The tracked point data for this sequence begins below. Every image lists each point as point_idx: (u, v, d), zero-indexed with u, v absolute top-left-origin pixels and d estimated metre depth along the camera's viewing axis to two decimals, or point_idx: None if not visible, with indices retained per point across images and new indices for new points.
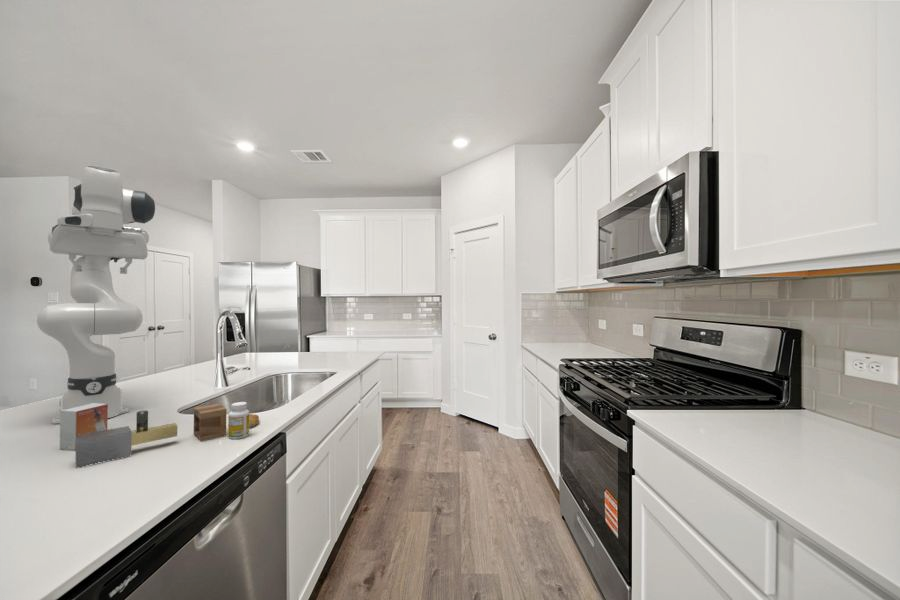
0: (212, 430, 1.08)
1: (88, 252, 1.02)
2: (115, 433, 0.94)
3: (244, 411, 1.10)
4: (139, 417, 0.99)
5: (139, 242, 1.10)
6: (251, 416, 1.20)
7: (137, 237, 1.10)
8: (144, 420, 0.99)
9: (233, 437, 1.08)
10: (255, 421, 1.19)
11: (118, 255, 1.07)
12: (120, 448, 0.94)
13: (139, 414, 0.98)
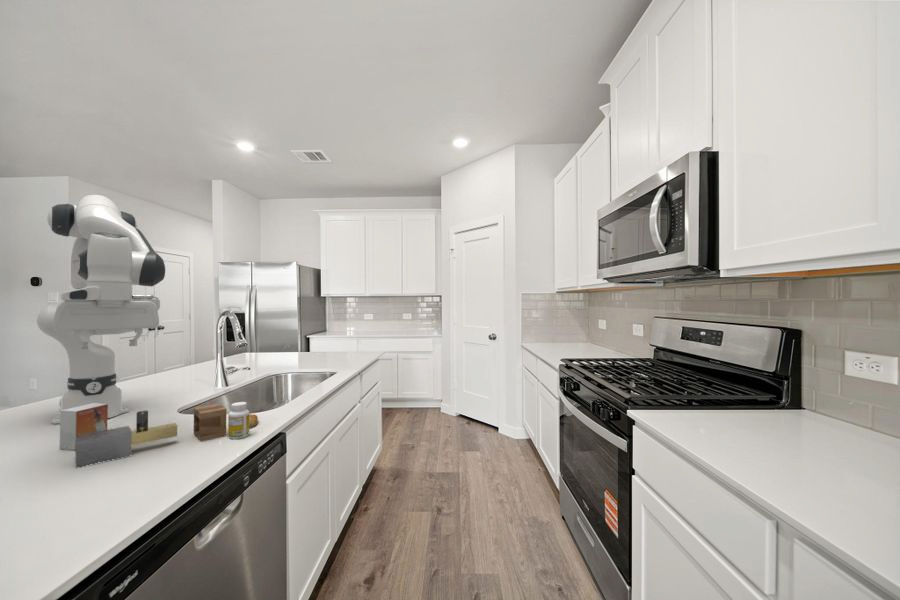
0: (212, 430, 1.08)
1: (95, 327, 0.93)
2: (115, 433, 0.94)
3: (244, 411, 1.10)
4: (139, 417, 0.99)
5: (150, 311, 1.01)
6: (250, 416, 1.20)
7: (148, 305, 1.01)
8: (144, 420, 0.99)
9: (233, 437, 1.08)
10: (254, 421, 1.19)
11: (127, 327, 0.98)
12: (120, 448, 0.94)
13: (139, 414, 0.98)
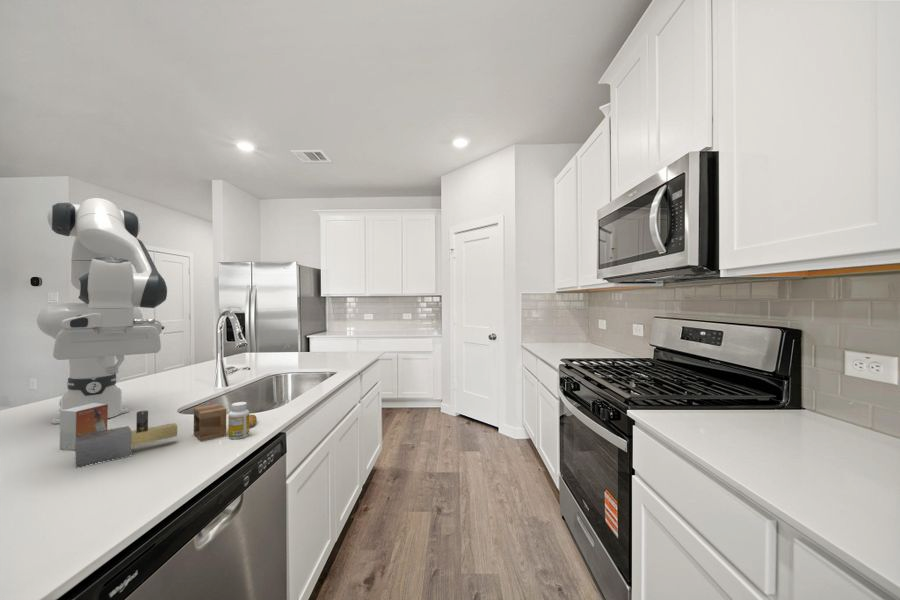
0: (212, 430, 1.08)
1: (96, 354, 0.92)
2: (115, 433, 0.94)
3: (244, 411, 1.10)
4: (139, 417, 0.99)
5: (152, 335, 1.00)
6: (249, 416, 1.20)
7: (150, 330, 0.99)
8: (144, 420, 0.99)
9: (233, 437, 1.08)
10: (253, 421, 1.19)
11: (129, 353, 0.96)
12: (120, 448, 0.94)
13: (139, 414, 0.98)
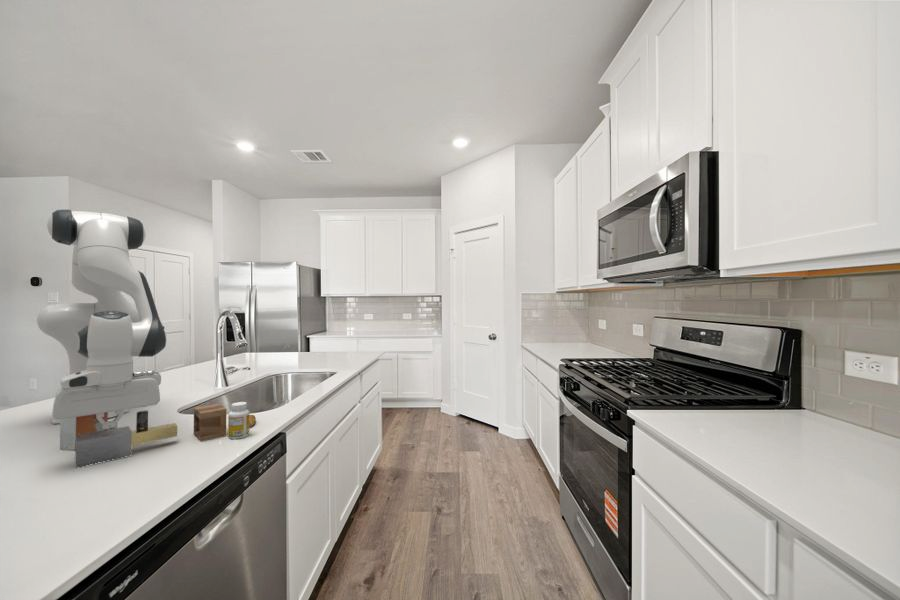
0: (212, 430, 1.08)
1: (95, 411, 0.92)
2: (115, 433, 0.94)
3: (244, 411, 1.10)
4: (139, 417, 0.99)
5: (151, 388, 1.00)
6: None
7: (149, 383, 0.99)
8: (144, 420, 0.99)
9: (233, 437, 1.08)
10: (252, 421, 1.19)
11: (128, 407, 0.96)
12: (120, 448, 0.94)
13: (139, 414, 0.98)
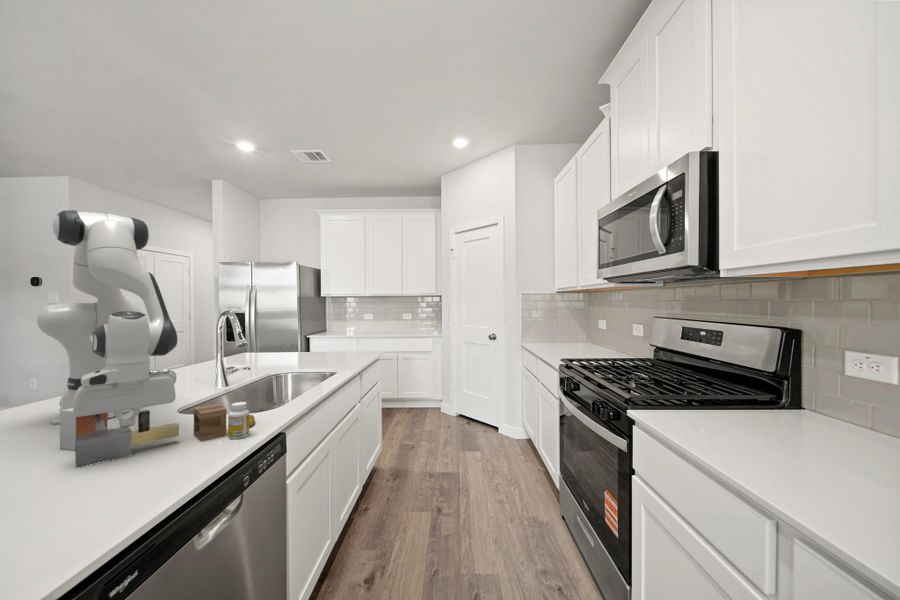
0: (212, 430, 1.08)
1: (114, 409, 0.94)
2: (115, 433, 0.94)
3: (244, 411, 1.10)
4: (141, 417, 0.99)
5: (167, 386, 1.02)
6: None
7: (165, 381, 1.02)
8: (146, 420, 0.99)
9: (233, 437, 1.08)
10: (252, 421, 1.19)
11: (145, 405, 0.99)
12: (120, 448, 0.94)
13: (141, 414, 0.99)
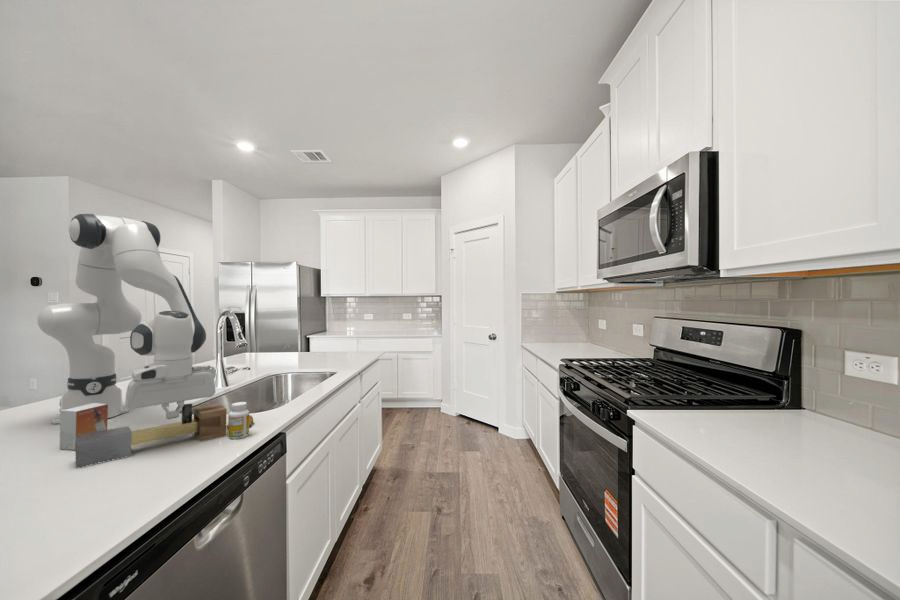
0: (212, 430, 1.08)
1: (161, 402, 1.01)
2: (115, 433, 0.94)
3: (244, 411, 1.10)
4: (184, 409, 1.06)
5: (208, 381, 1.09)
6: None
7: (206, 376, 1.09)
8: (189, 412, 1.06)
9: (233, 437, 1.08)
10: (250, 421, 1.19)
11: (189, 398, 1.06)
12: (120, 448, 0.94)
13: (184, 407, 1.06)
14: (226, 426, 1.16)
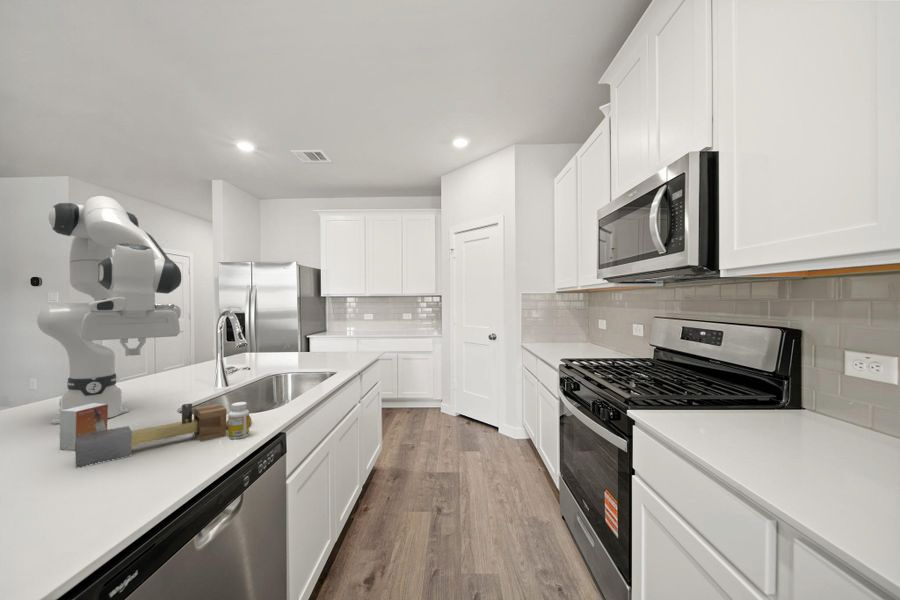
0: (212, 430, 1.08)
1: (120, 336, 0.96)
2: (115, 433, 0.94)
3: (244, 411, 1.10)
4: (184, 409, 1.06)
5: (172, 320, 1.04)
6: None
7: (170, 315, 1.04)
8: (189, 412, 1.06)
9: (233, 437, 1.08)
10: (249, 421, 1.19)
11: (150, 336, 1.01)
12: (120, 448, 0.94)
13: (184, 407, 1.06)
14: None
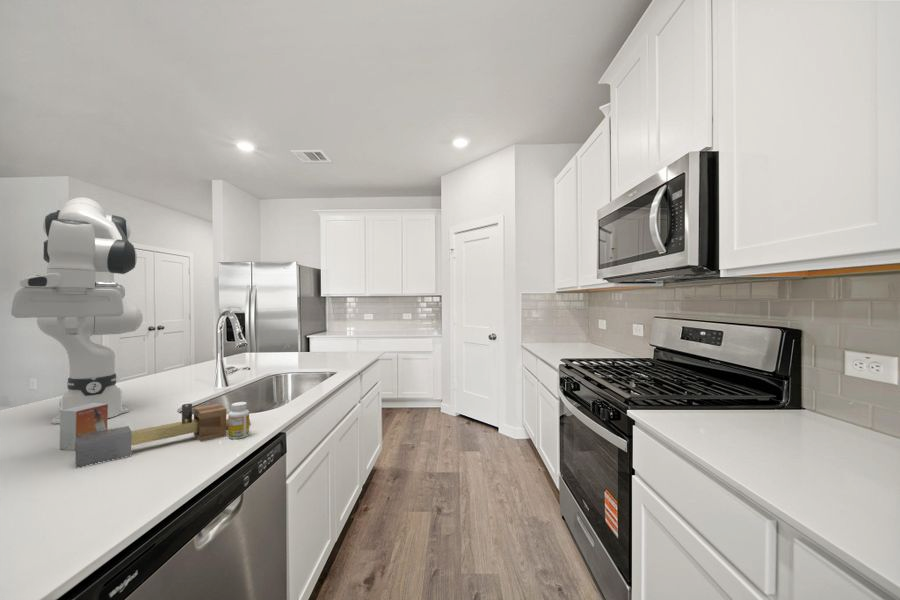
0: (212, 430, 1.08)
1: (55, 314, 0.93)
2: (115, 433, 0.94)
3: (244, 411, 1.10)
4: (184, 409, 1.06)
5: (114, 299, 1.01)
6: None
7: (112, 293, 1.00)
8: (189, 412, 1.06)
9: (233, 437, 1.08)
10: None
11: (90, 315, 0.97)
12: (120, 448, 0.94)
13: (184, 407, 1.06)
14: None
